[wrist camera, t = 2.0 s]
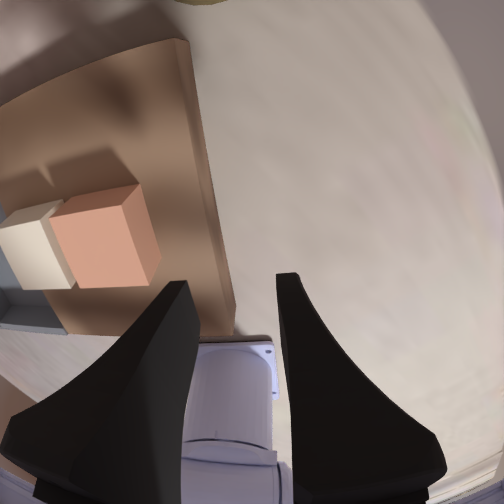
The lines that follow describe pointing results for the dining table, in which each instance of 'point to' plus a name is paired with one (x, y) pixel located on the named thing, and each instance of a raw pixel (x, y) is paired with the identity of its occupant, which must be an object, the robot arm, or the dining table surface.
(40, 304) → the box
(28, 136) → the tan slab
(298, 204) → the dining table surface
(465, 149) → the dining table surface
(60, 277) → the cream tile
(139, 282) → the terracotta tile
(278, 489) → the robot arm
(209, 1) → the cork
